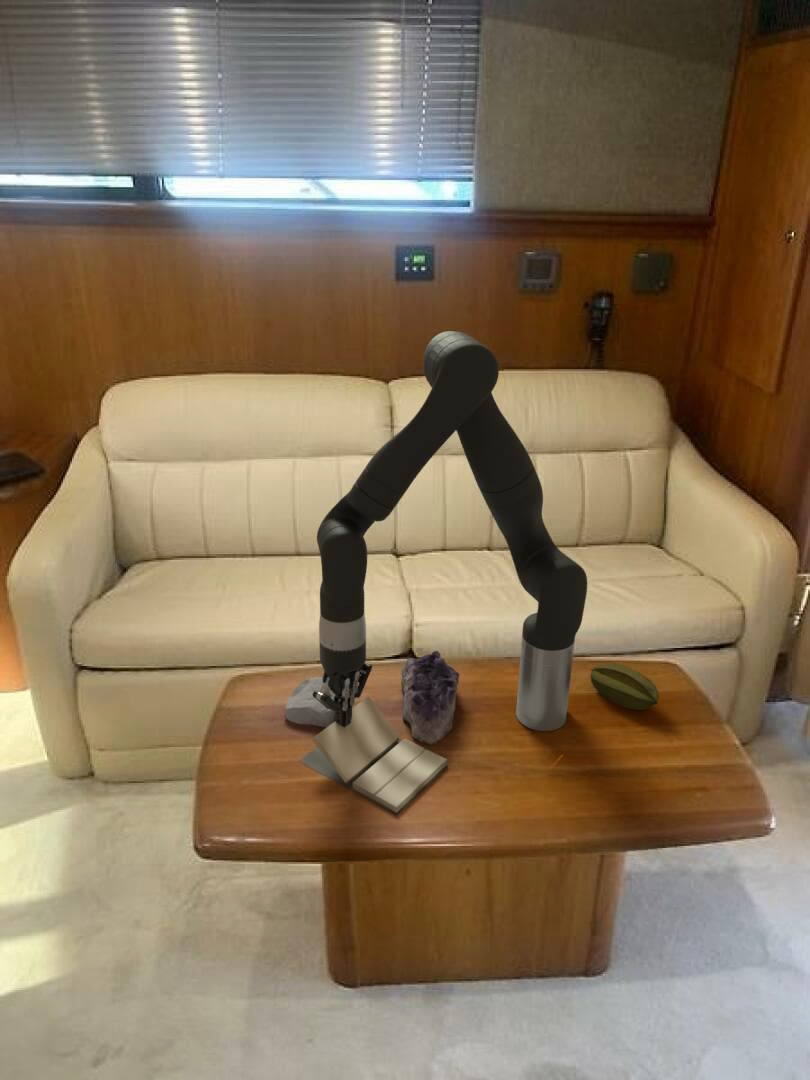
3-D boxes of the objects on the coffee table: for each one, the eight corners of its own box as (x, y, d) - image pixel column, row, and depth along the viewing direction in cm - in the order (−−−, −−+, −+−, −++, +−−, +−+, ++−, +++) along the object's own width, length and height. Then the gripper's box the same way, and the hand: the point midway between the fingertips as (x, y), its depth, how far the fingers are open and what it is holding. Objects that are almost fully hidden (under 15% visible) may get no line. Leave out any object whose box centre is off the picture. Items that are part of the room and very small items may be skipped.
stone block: (283, 732, 145) (334, 730, 142) (277, 710, 143) (329, 707, 141) (304, 696, 156) (351, 694, 153) (298, 675, 154) (346, 672, 152)
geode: (469, 747, 139) (464, 702, 134) (404, 755, 139) (396, 710, 135) (459, 677, 157) (454, 635, 152) (402, 684, 157) (395, 642, 153)
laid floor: (355, 718, 146) (355, 711, 145) (449, 765, 134) (449, 757, 133) (298, 762, 135) (298, 754, 134) (396, 817, 123) (396, 809, 122)
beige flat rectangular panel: (365, 699, 141) (368, 696, 140) (398, 740, 139) (401, 737, 139) (311, 739, 131) (314, 736, 130) (346, 784, 129) (349, 781, 128)
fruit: (645, 684, 156) (649, 656, 153) (657, 722, 145) (662, 692, 143) (587, 681, 157) (590, 653, 154) (594, 718, 146) (598, 688, 143)
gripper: (333, 662, 120) (334, 753, 127) (386, 627, 129) (385, 713, 137) (297, 645, 124) (300, 734, 131) (351, 613, 133) (351, 697, 141)
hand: (343, 723), depth 134 cm, fingers closed
